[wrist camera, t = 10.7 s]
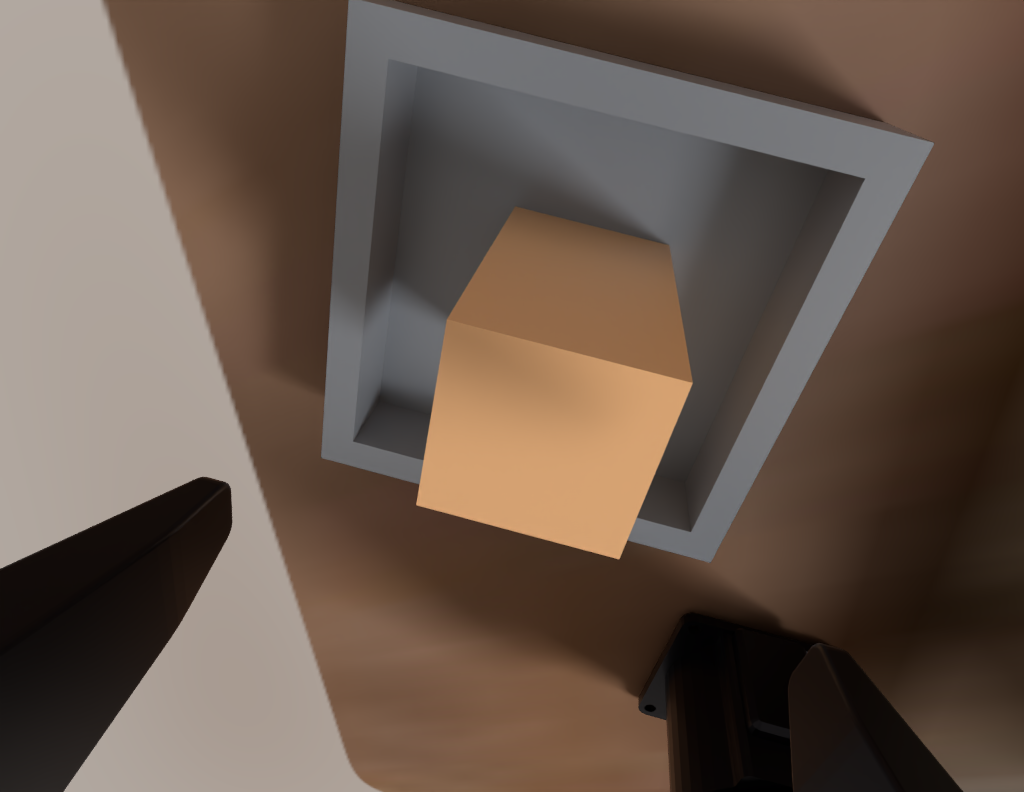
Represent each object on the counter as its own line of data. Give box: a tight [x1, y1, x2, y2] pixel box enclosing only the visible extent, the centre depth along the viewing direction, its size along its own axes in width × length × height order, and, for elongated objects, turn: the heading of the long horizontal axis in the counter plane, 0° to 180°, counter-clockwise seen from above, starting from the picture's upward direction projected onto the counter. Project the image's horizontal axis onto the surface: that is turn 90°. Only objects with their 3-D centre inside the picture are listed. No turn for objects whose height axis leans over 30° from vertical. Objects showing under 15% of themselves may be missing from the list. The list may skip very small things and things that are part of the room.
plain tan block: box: [416, 206, 693, 559], centre depth 16 cm, size 4×4×8 cm
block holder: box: [321, 0, 934, 563], centre depth 19 cm, size 13×13×3 cm
